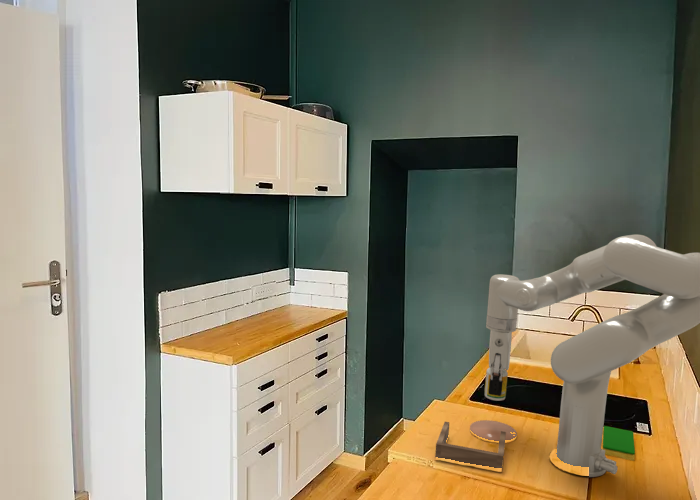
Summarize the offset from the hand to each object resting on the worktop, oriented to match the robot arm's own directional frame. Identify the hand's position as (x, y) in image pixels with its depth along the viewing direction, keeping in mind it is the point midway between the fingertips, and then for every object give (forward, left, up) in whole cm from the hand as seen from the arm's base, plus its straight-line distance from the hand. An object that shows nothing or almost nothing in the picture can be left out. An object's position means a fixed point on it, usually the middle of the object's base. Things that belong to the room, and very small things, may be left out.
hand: (495, 389), depth 147 cm
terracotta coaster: (0, 0, -12) cm, 12 cm away
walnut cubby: (-3, +14, -12) cm, 19 cm away
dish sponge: (-24, -20, -12) cm, 34 cm away
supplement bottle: (0, 0, -2) cm, 2 cm away
